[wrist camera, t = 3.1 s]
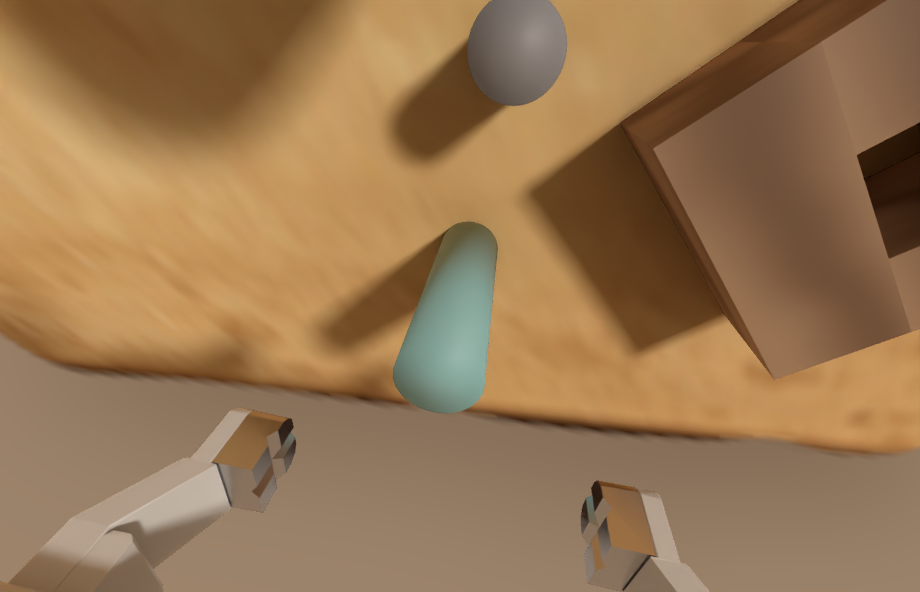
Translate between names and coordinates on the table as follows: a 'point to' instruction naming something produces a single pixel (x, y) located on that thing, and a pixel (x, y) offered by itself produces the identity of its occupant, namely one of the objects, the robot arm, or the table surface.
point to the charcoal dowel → (516, 50)
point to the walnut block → (798, 178)
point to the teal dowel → (451, 324)
